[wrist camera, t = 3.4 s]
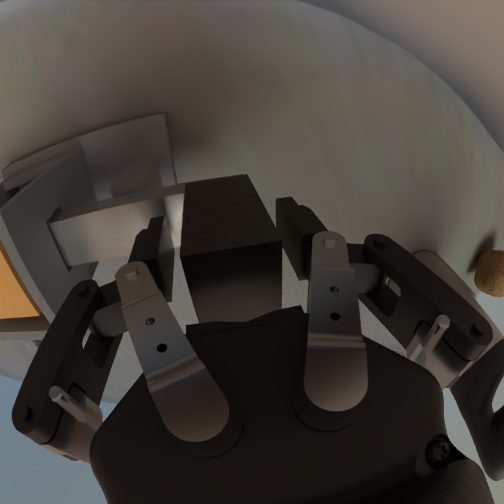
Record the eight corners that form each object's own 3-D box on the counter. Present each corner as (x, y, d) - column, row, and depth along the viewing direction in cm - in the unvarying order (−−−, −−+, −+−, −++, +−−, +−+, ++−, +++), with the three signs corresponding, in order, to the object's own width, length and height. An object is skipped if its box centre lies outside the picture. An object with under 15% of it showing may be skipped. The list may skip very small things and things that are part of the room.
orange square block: (22, 214, 11) (-3, 243, 9) (54, 282, 14) (39, 315, 11) (-21, 232, 10) (-44, 258, 8) (9, 289, 13) (-6, 319, 11)
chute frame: (165, 112, 18) (124, 146, 8) (185, 224, 24) (184, 339, 14) (10, 164, 16) (-76, 236, 6) (43, 252, 22) (-6, 347, 12)
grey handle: (242, 165, 14) (282, 240, 8) (247, 229, 16) (280, 326, 10) (-8, 227, 12) (-62, 298, 6) (14, 271, 14) (-26, 348, 8)
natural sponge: (498, 239, 36) (529, 269, 28) (478, 275, 41) (506, 306, 33) (482, 235, 34) (518, 269, 26) (460, 275, 39) (491, 311, 31)
